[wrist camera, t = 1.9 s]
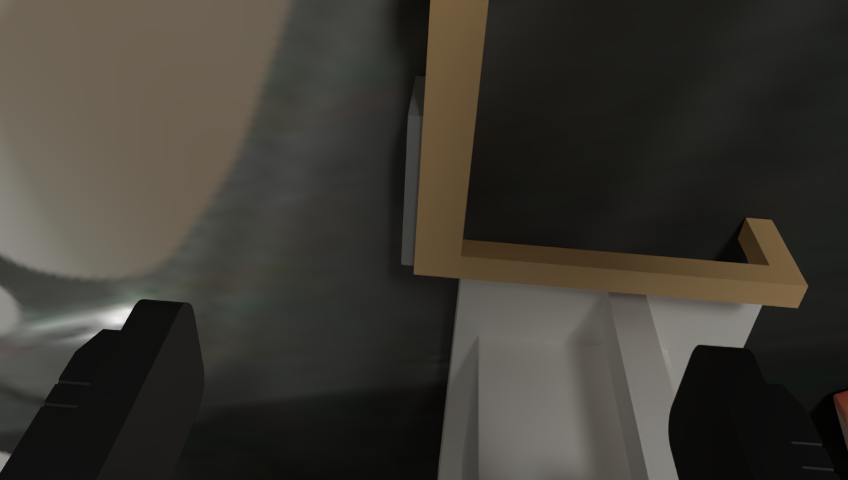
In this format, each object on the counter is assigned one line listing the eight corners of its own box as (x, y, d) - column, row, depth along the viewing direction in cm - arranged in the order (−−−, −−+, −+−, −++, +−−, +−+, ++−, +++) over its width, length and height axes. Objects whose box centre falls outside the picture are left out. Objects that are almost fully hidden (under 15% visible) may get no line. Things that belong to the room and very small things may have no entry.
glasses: (435, -279, 20) (424, -275, 16) (965, -242, 19) (1060, -231, 16) (409, 210, 29) (399, 273, 26) (762, 240, 29) (797, 308, 26)
